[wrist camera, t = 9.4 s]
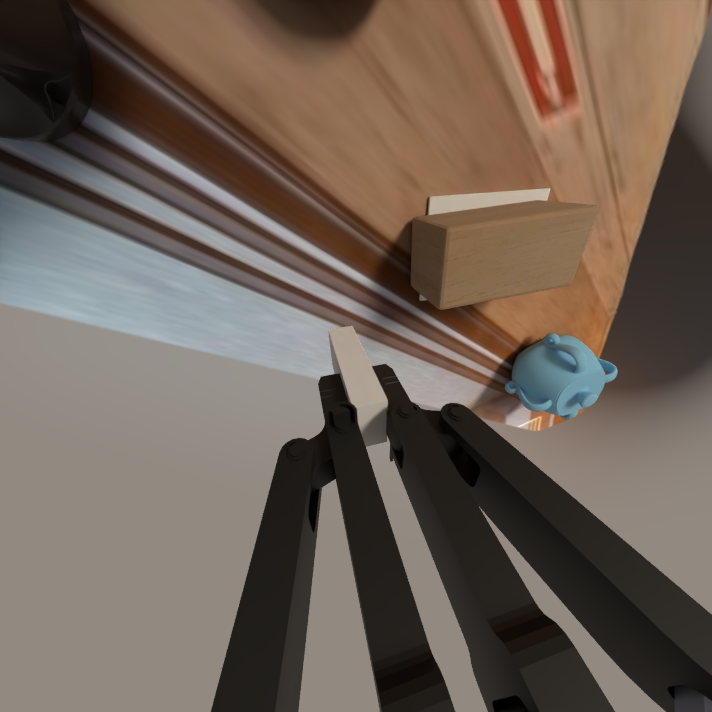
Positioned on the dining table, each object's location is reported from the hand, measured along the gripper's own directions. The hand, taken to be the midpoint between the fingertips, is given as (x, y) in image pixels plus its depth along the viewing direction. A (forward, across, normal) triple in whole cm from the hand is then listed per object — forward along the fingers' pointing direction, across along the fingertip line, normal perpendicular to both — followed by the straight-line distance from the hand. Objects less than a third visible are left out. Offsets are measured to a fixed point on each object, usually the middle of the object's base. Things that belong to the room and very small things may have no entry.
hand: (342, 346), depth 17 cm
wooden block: (+20, +15, -2) cm, 25 cm away
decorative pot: (+24, +47, -29) cm, 60 cm away
